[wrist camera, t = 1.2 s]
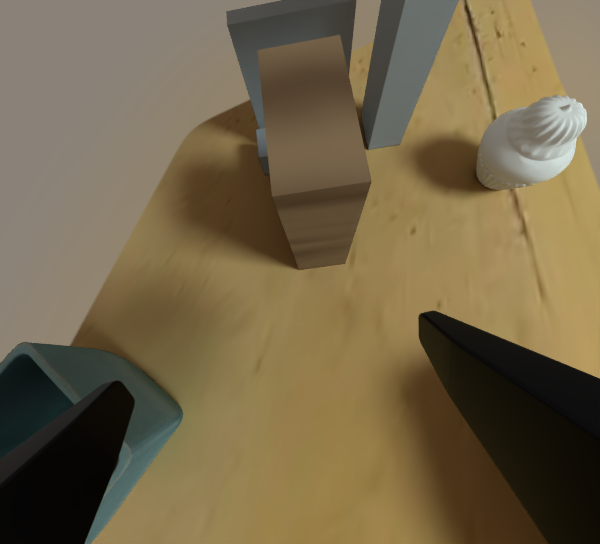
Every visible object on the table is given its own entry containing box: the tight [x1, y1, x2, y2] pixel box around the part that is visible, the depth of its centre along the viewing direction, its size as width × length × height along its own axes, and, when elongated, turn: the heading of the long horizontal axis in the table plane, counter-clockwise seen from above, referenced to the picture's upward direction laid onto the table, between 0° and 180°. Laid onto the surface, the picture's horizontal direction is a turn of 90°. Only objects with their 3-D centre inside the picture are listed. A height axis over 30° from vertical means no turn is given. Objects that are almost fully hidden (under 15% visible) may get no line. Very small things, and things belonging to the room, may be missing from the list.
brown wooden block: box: [257, 35, 371, 270], centre depth 17 cm, size 8×4×12 cm, turn 7°
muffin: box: [476, 95, 587, 190], centre depth 19 cm, size 6×6×7 cm
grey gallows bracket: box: [227, 0, 459, 175], centre depth 16 cm, size 6×13×16 cm, turn 97°
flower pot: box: [0, 342, 183, 544], centre depth 16 cm, size 9×9×9 cm
